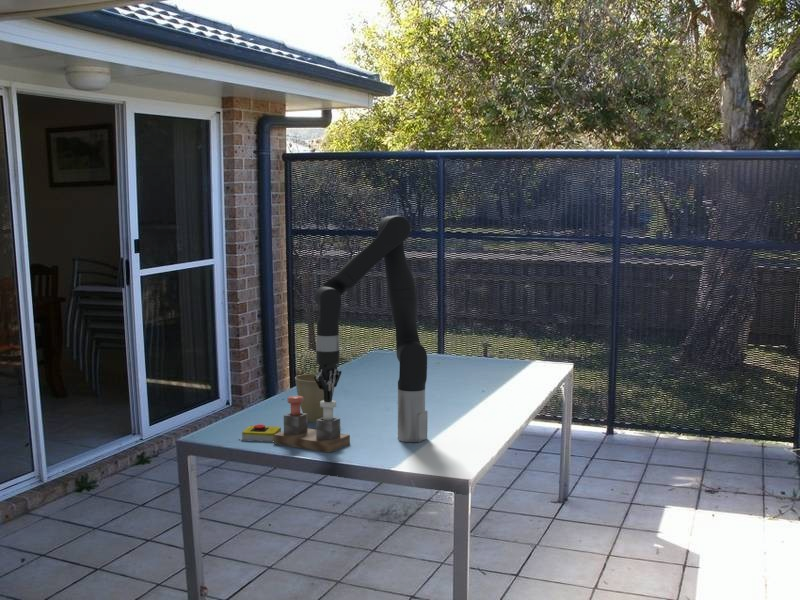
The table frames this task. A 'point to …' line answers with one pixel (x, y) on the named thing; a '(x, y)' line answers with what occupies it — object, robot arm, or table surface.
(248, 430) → the emergency button
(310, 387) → the plant pot
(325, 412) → the white plunger
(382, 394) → the table surface
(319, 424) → the press board
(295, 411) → the red plunger
